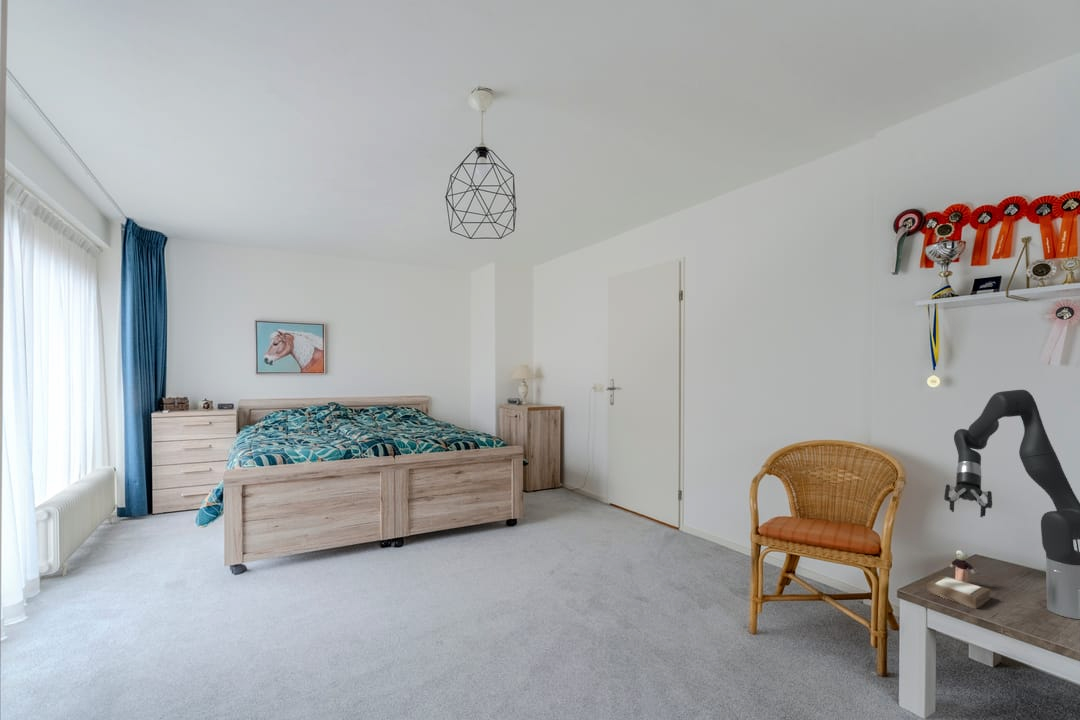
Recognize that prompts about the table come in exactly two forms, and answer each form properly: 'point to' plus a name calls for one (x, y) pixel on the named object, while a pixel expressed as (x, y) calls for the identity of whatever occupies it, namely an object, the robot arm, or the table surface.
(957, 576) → the grandmother figurine
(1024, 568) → the table surface
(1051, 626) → the table surface
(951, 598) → the stand
